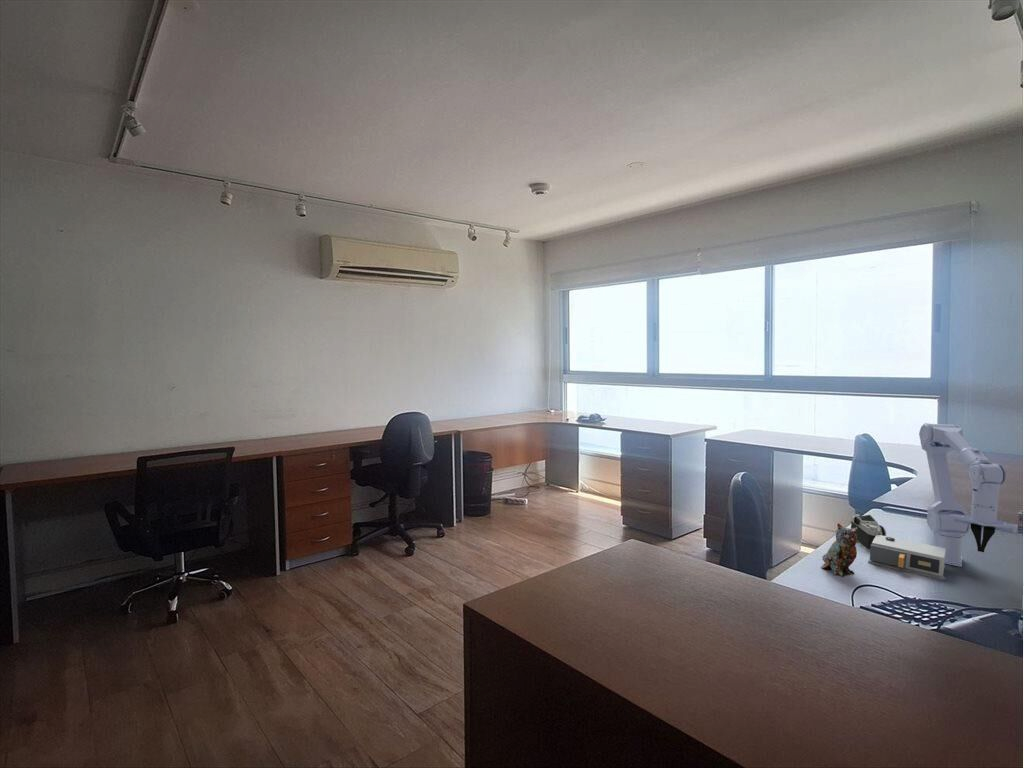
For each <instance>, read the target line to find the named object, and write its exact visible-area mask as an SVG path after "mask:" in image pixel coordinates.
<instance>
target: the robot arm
mask: <svg viewBox="0 0 1024 768" xmlns="http://www.w3.org/2000/svg"><path fill="white" fill-rule="evenodd" d="M918 434H919V435H918V436H919V441H920V445H921V449H922V450H923V451H925V453H926V457H927V463H928V464H927V465H928V469H929V474H930V480H931V485H932V489H933V490H932V491H933V495H934V501H935V502H934V503H933V504H931V505H930V506H929V507H928V508H927V509H926V511H927V512H926V513H927V516H926V523H927V526H928V528H929V529H930V531H932V532H933V535H932V546H937V547H942V548H946V555H945V564H946V565H951V566H955V567H962V566H963V556H962V546H963V537H966V534H968V533H970V531H971V532H972V534H973V536H974V539H975V542H976V547H977V552H981V553H985V549H986V546H988V545H987V544H988V543H989V541H990V539H991V538H992V537H993V536H994V534H995V533H996V530H1001V531H1005V532H1006V531H1007V532H1011V533H1014V534H1018V528H1019V526H1018V524H1013V523H1009V522H1006V521H1005V522H1004V521H1001V520H998V519H997V518H998V507H999V498H1000V497H999V496H1000V485H1003V484H1004V483H1005V482H1006V480H1007V472H1006V470H1005V468H1004V467H1003V465H1002V464H1000V463H995V462H991V460H990V459H988V458H987V457H986V455H985V454H984V453H983V452H982V451H981V450H980V449H979V448H977V447H971V446H970V444H968V442H967V440H966V439H965V438H964V437H963V436H964V434H963V429H962V428H961V426H960V425H959V424H956V423H953V424H948V423H947V424H946V423H945V424H944V423H943V424H942V423H927V422H924V423H923V424H922V425H921V427H920V429H919V433H918ZM952 451H955V452H956V453H957V455H958V456H957V457H958V461H959V462H960V463H961V464H962V465H963V466H964V467H965V468H966V469H967V470H968V477H969V479H970V487H971V489H972V494H971V497H972V498H971V503H970V504H971V507H970V515H968V513H967V509H966V508H964V506H962V505H960V504H959V503H957V502H956V501H957V500H956V497H955V492H954V487H953V482H952V478H951V472H950V469H949V468H950V467H949V463H948V458H947V454H948V453H950V452H952Z"/></svg>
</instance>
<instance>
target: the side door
mask: <svg viewBox="0 0 1024 768" xmlns="http://www.w3.org/2000/svg"><path fill="white" fill-rule="evenodd" d="M906 556H907V552H904V551H899V550H895V549H890V548H885V547H881V546H876V545H871V547H870V551H869V560H873V561H877V562H882V563H886V564H890V565H895V566H898V567H901V568H906Z"/></svg>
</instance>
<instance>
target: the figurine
mask: <svg viewBox="0 0 1024 768" xmlns="http://www.w3.org/2000/svg"><path fill="white" fill-rule="evenodd" d="M857 529H858V528H857V527H856V528H853V529H851V528H848V527H844V526H843V525H842V524H840V523H839V522H838V523H837V528H836V530H835V541H834V542H832V544H831V545H830V547H829V548H828V550H827V552H826V553H825V554H824V555H822V557H821V558H822V561H823V562H824V564H822V565H821V566H820V569H822V570H826V571H829V572H830V571H831V572H833V575H834V576H839V577H841V578H842V577H845V576H846V577H847V576H850V575H854V574H855V571H853V570H851V569H850V566H851V565H853V563H854V562H855V559H856V558H857V554H858V551H857V547H856V545H857V543H858V542H857V541H858V540H857V539H858V536H857V533H856V531H857Z"/></svg>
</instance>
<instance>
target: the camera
mask: <svg viewBox="0 0 1024 768" xmlns="http://www.w3.org/2000/svg"><path fill="white" fill-rule="evenodd" d="M850 523H851V525H850V529H853V528H856V527H857V528H858V529H857V531H856V533H857V536H858V539H857V540H858V541H857V543H858V544H859V543H860V544H859V545H860V546H862V547H863V548H864V547H865V548H866V549H865V548H864V549H865V550H867V551H868V550H869V552H870V547H871V545H872V542H873V540H874V538H875V536H876V535H882V536H887V531H886V528H885V527H884V526H883V525H881V524H879V523H878V521H876V520H875V518H874V517H873V516H872V515H871V514H865V515H860V514H854V515H853V516H851V521H850Z"/></svg>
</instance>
